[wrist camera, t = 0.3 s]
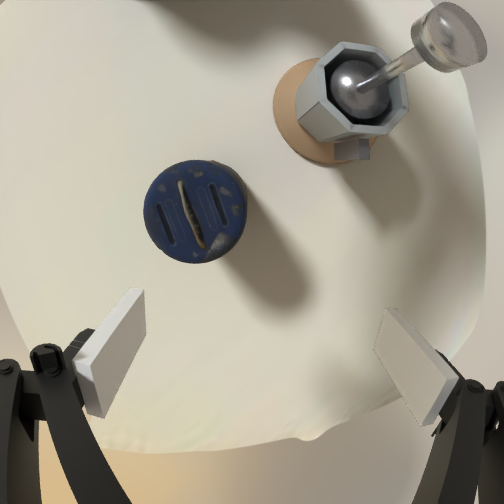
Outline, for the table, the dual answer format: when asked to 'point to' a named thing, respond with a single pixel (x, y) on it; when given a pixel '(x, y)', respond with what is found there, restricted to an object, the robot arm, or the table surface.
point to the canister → (196, 210)
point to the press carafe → (333, 107)
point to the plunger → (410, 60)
